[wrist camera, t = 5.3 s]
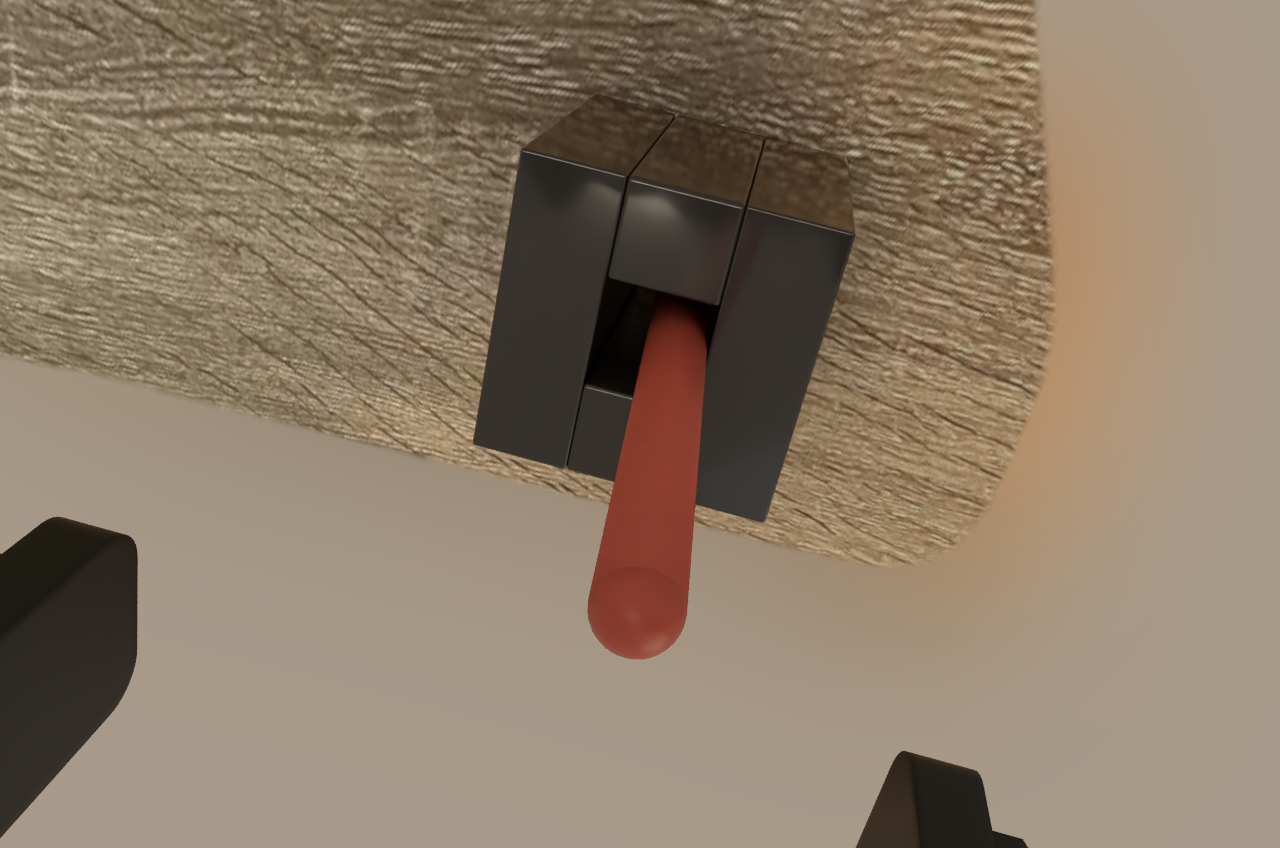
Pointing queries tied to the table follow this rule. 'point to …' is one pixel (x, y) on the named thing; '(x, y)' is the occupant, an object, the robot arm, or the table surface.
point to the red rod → (654, 490)
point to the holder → (663, 289)
